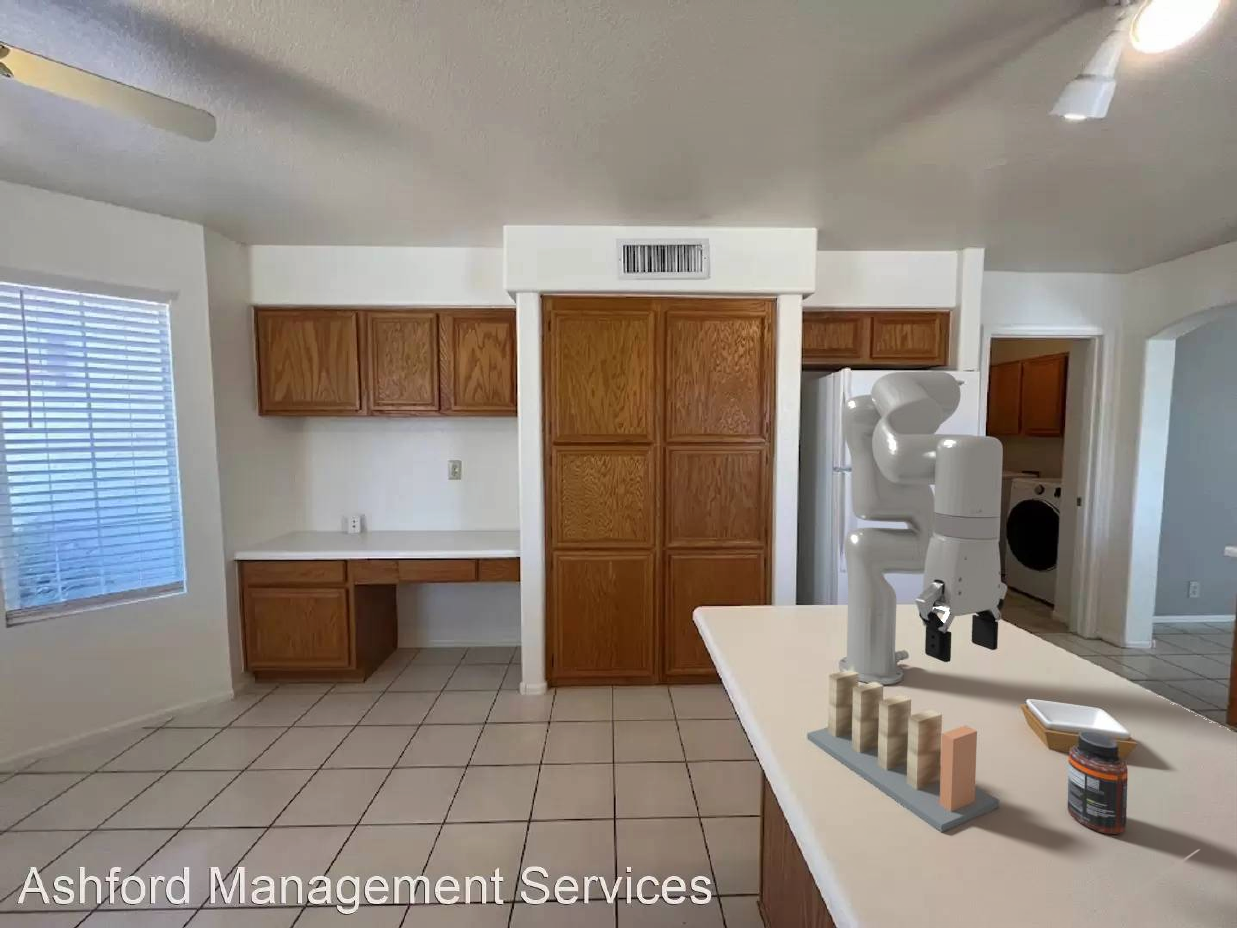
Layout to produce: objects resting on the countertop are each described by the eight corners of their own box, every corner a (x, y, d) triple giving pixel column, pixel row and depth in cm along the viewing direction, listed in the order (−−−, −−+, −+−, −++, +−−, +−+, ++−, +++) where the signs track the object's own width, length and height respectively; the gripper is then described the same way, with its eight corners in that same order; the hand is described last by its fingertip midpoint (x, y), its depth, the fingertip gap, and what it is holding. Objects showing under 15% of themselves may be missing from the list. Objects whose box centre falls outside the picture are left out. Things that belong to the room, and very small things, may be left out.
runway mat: (858, 723, 97) (858, 718, 97) (998, 806, 75) (999, 799, 75) (807, 738, 92) (807, 733, 92) (941, 832, 71) (941, 824, 71)
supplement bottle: (1111, 811, 75) (1115, 731, 74) (1136, 841, 69) (1140, 755, 68) (1058, 801, 77) (1062, 723, 76) (1078, 830, 71) (1082, 746, 70)
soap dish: (1044, 753, 89) (1045, 723, 88) (1018, 723, 98) (1019, 695, 98) (1137, 766, 85) (1139, 735, 85) (1101, 733, 95) (1102, 705, 94)
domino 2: (873, 740, 90) (875, 681, 90) (881, 745, 89) (883, 685, 88) (851, 747, 88) (853, 687, 88) (859, 752, 87) (861, 691, 86)
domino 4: (929, 774, 81) (931, 709, 81) (939, 780, 80) (942, 714, 79) (906, 782, 79) (908, 716, 79) (916, 789, 78) (918, 721, 77)
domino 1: (849, 725, 95) (850, 669, 94) (857, 730, 93) (858, 673, 93) (828, 732, 93) (829, 674, 92) (835, 736, 91) (836, 678, 91)
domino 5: (963, 794, 77) (965, 725, 76) (974, 801, 75) (977, 730, 75) (939, 804, 74) (941, 733, 74) (950, 811, 73) (953, 739, 73)
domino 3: (900, 756, 86) (902, 694, 85) (909, 761, 84) (911, 699, 84) (877, 764, 84) (879, 700, 83) (886, 769, 82) (888, 705, 82)
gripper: (978, 519, 80) (974, 633, 81) (896, 527, 73) (892, 652, 74) (1034, 527, 73) (1029, 651, 74) (950, 537, 66) (946, 674, 67)
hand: (961, 652), depth 74 cm, fingers open, 9 cm apart
